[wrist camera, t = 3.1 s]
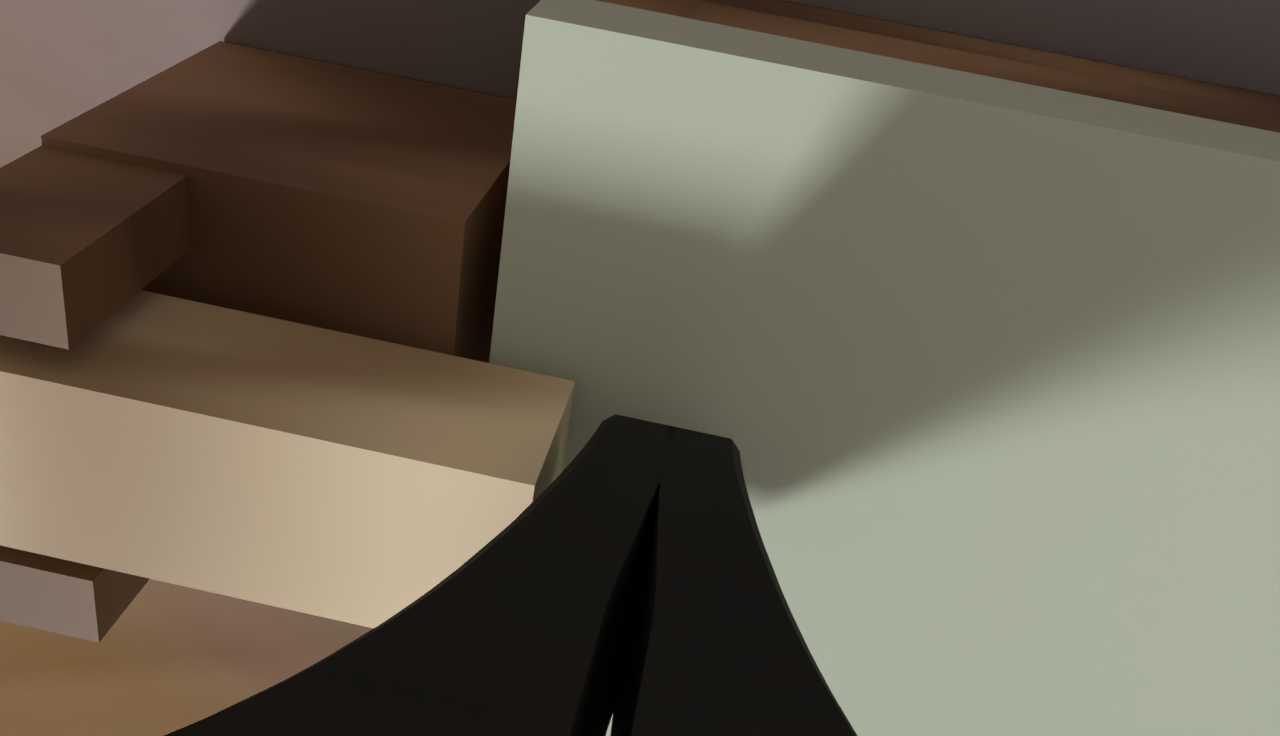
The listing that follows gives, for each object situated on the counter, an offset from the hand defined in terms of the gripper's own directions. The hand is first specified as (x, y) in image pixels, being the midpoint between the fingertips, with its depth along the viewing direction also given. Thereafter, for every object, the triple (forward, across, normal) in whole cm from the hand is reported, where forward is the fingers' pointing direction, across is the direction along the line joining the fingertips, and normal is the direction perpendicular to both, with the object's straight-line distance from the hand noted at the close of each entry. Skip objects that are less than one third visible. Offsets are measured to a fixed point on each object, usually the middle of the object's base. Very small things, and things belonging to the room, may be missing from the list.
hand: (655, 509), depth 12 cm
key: (0, +5, 0) cm, 5 cm away
